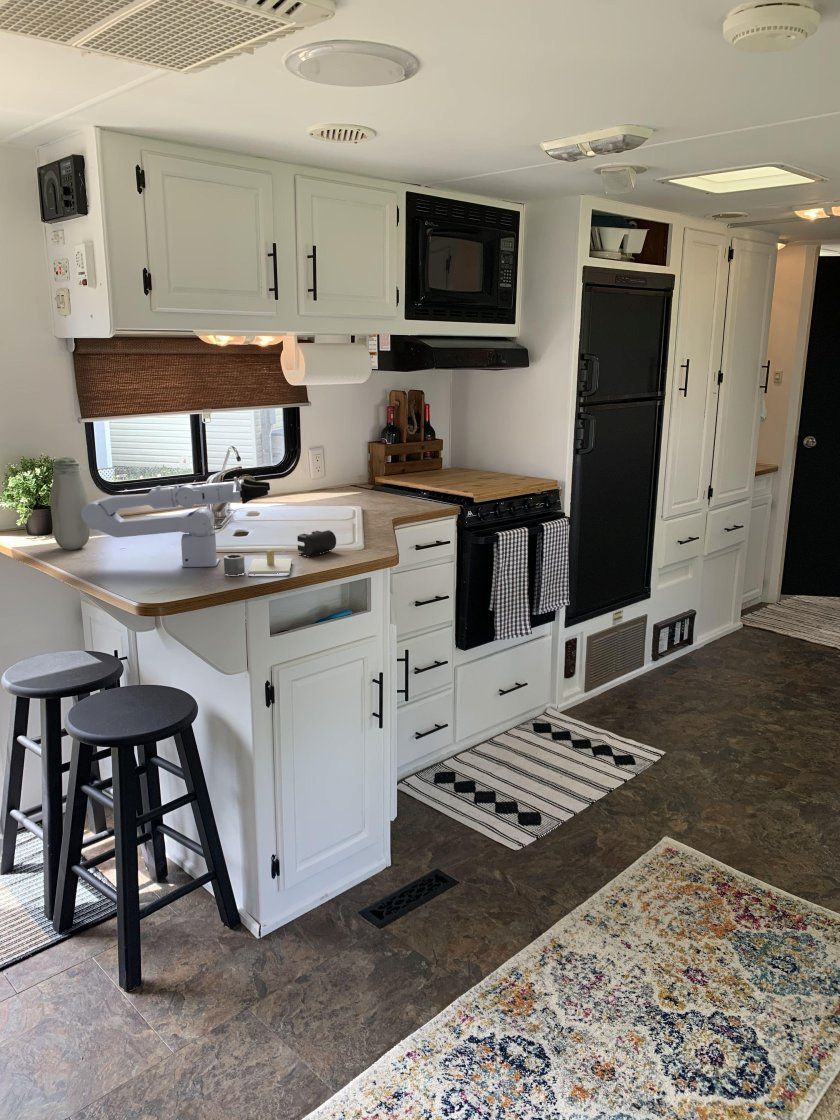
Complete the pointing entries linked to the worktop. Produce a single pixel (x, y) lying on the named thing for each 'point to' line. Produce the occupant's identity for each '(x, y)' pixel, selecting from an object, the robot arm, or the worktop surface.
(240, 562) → the sleeve
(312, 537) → the black cylinder
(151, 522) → the robot arm
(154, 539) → the worktop surface
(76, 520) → the grey bottle
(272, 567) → the board
